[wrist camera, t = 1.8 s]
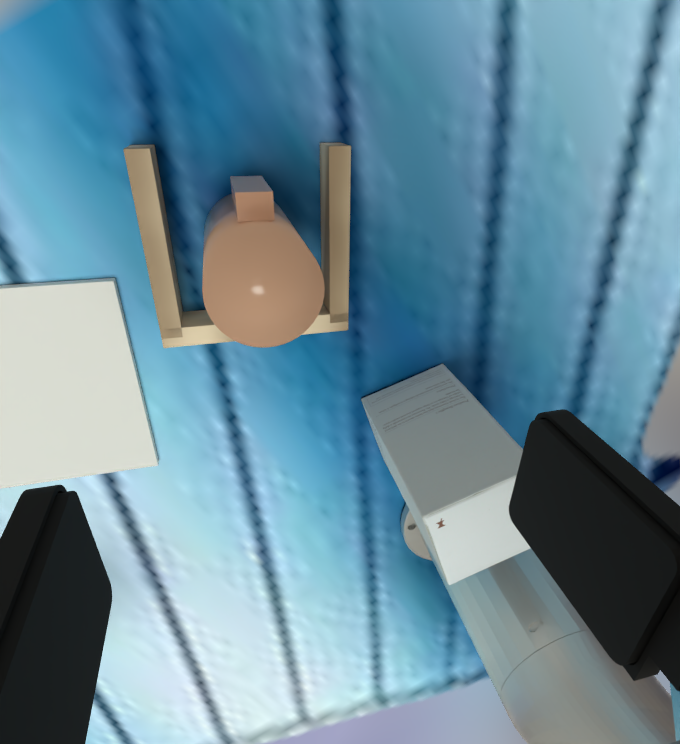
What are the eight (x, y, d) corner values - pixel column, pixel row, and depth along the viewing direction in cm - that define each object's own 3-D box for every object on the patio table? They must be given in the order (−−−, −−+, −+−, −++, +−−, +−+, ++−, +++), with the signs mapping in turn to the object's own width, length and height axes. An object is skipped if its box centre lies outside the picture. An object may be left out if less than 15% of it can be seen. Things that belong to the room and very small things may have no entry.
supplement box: (382, 461, 41) (445, 590, 30) (358, 396, 37) (420, 518, 26) (461, 428, 41) (550, 544, 30) (445, 360, 37) (542, 465, 26)
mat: (114, 277, 28) (113, 280, 27) (158, 460, 35) (158, 465, 34) (-168, 296, 25) (-175, 300, 25) (-58, 491, 32) (-62, 497, 32)
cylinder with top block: (287, 167, 27) (323, 198, 19) (292, 274, 30) (325, 341, 22) (194, 169, 26) (188, 202, 18) (210, 280, 29) (211, 352, 21)
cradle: (340, 142, 27) (351, 146, 25) (338, 315, 33) (348, 330, 31) (130, 144, 25) (123, 149, 23) (166, 330, 30) (163, 347, 28)
